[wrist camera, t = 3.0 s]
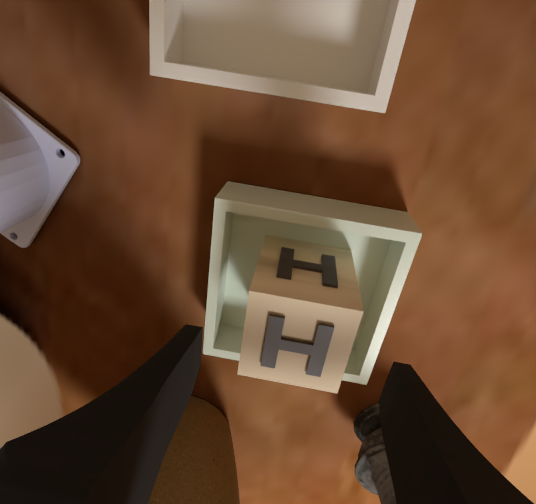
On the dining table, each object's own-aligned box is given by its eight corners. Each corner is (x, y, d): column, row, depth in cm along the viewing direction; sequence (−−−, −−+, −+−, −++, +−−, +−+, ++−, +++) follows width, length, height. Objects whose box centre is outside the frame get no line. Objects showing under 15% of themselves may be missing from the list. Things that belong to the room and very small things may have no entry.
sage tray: (214, 323, 25) (202, 353, 23) (227, 181, 21) (214, 197, 18) (361, 351, 25) (366, 384, 22) (408, 212, 20) (422, 233, 18)
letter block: (332, 319, 23) (337, 396, 18) (254, 305, 23) (236, 376, 18) (351, 247, 21) (365, 310, 15) (265, 232, 21) (249, 289, 16)
